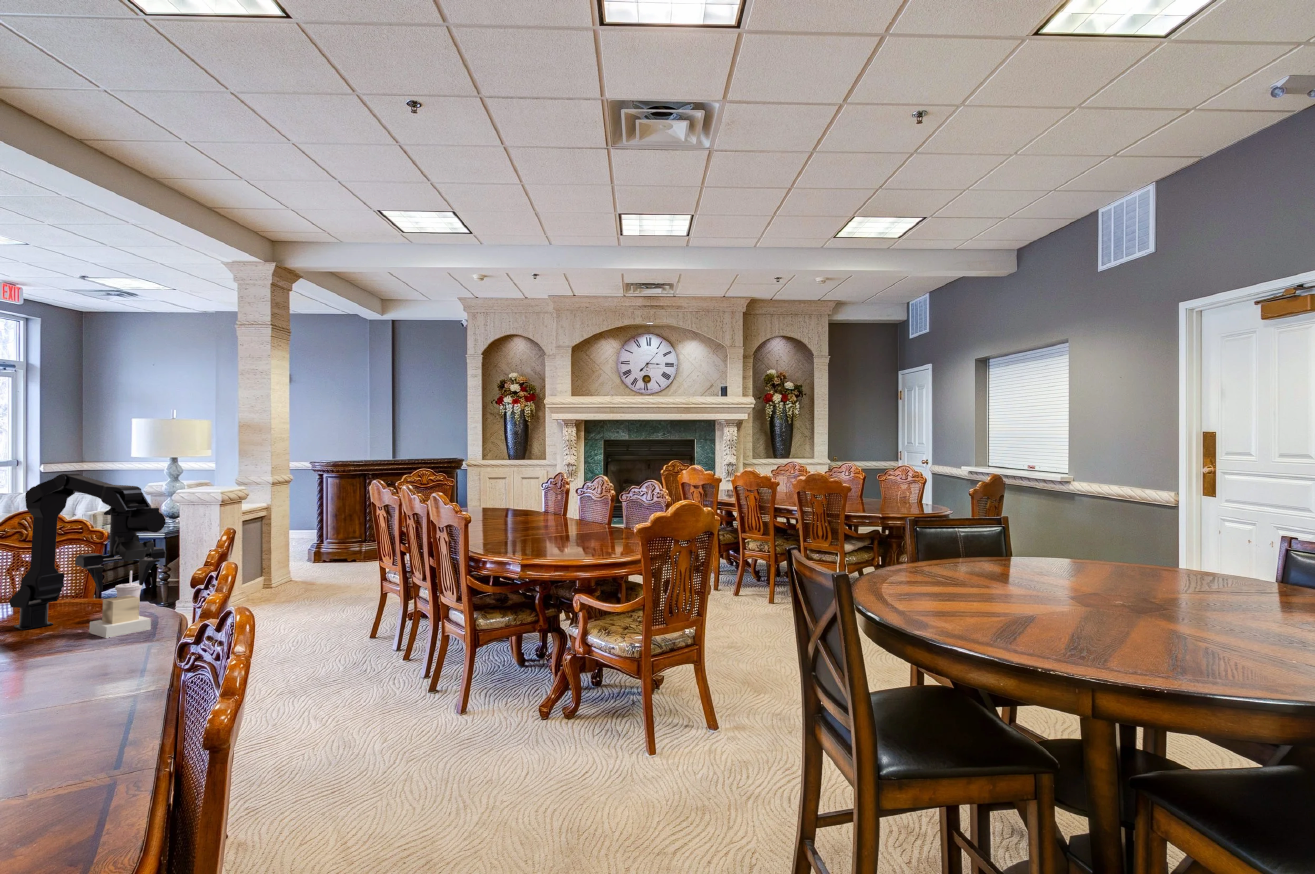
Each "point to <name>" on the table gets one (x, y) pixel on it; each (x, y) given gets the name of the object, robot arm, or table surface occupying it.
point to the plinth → (119, 627)
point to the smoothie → (128, 588)
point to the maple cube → (120, 609)
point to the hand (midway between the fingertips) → (121, 587)
